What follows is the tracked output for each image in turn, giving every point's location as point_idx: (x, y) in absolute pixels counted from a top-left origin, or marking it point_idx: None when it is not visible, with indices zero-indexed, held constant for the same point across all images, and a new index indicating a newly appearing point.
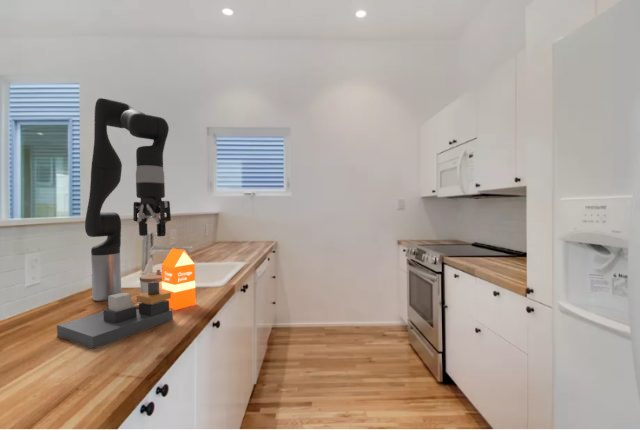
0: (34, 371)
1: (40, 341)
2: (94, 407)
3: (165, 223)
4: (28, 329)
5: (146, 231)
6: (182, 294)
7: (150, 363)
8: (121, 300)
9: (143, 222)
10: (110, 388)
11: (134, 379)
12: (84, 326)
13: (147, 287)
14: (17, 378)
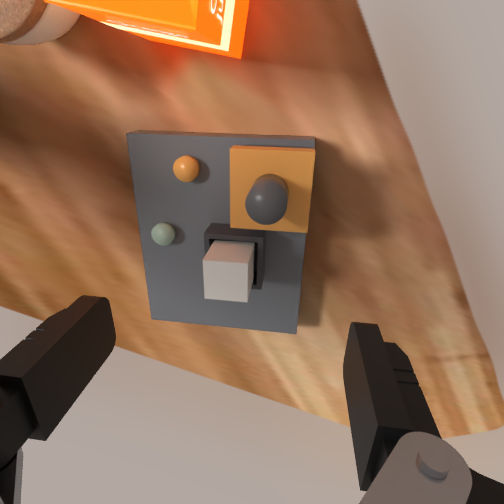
0: (292, 384)
1: (165, 327)
2: (479, 411)
3: (448, 451)
4: (69, 304)
5: (86, 321)
6: (236, 12)
7: (465, 322)
8: (249, 283)
9: (16, 422)
10: (461, 383)
11: (479, 361)
12: (215, 307)
13: (36, 40)
14: (293, 398)
